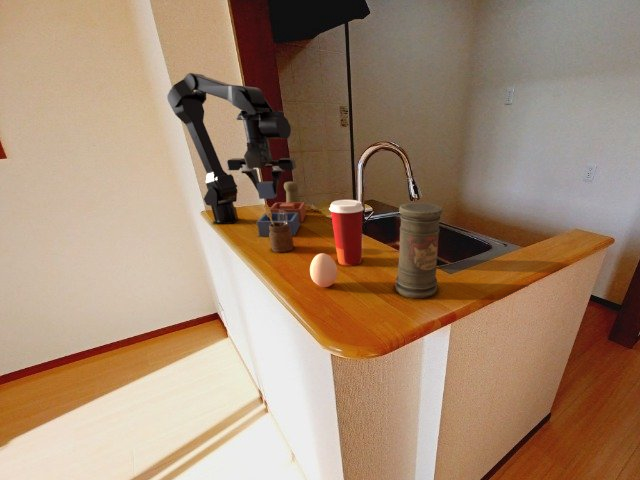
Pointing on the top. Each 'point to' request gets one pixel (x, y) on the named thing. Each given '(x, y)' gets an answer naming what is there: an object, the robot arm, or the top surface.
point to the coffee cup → (347, 230)
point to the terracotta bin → (298, 209)
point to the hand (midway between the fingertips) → (267, 193)
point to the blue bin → (288, 217)
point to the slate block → (266, 190)
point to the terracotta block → (287, 206)
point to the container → (418, 249)
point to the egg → (323, 270)
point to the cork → (291, 192)
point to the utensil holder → (279, 234)
